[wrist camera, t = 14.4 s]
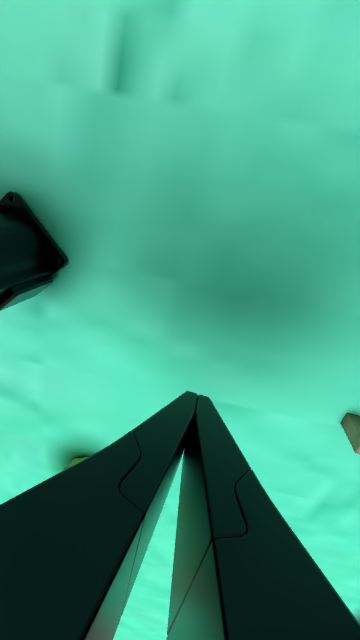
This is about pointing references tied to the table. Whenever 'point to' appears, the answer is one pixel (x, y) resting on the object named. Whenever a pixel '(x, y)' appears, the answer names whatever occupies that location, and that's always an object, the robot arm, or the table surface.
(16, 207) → the robot arm
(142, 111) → the table surface
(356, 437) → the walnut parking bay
